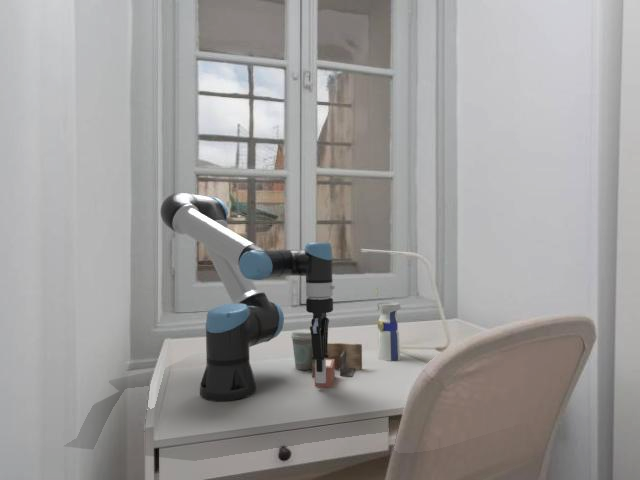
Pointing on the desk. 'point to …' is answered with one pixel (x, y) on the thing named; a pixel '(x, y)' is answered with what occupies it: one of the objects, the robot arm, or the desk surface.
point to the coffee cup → (302, 348)
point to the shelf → (344, 357)
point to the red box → (328, 374)
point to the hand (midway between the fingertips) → (320, 382)
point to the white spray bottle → (388, 331)
